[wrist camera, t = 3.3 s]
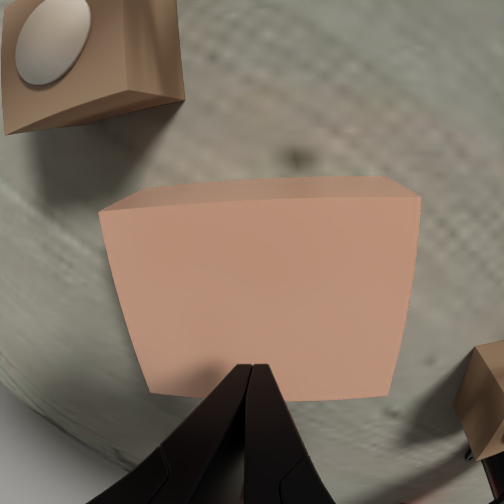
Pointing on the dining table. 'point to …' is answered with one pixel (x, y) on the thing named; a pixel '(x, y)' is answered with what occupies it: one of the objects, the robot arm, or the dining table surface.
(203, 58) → the dining table surface
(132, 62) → the tagged walnut block
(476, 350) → the tagged walnut block
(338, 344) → the terracotta slab
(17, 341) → the dining table surface
